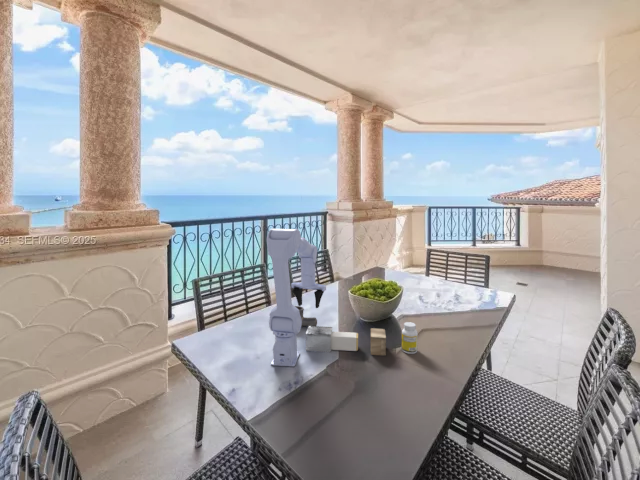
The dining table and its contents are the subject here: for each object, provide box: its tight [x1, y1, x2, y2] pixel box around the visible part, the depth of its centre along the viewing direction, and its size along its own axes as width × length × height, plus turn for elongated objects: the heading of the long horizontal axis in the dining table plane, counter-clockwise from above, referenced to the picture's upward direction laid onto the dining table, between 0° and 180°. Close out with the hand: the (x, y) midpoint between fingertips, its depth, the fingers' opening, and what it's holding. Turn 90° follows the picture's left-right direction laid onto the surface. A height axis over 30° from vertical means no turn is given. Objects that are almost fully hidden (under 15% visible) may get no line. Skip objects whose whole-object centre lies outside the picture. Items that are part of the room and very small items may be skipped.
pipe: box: [294, 305, 318, 328], centre depth 135 cm, size 6×13×8 cm, turn 78°
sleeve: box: [305, 325, 333, 353], centre depth 117 cm, size 7×9×6 cm
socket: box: [370, 327, 387, 357], centre depth 114 cm, size 7×5×6 cm
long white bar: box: [331, 331, 359, 352], centre depth 116 cm, size 4×17×5 cm, turn 82°
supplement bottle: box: [401, 321, 419, 355], centre depth 113 cm, size 5×5×10 cm
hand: (308, 306), depth 132 cm, fingers open, 7 cm apart
